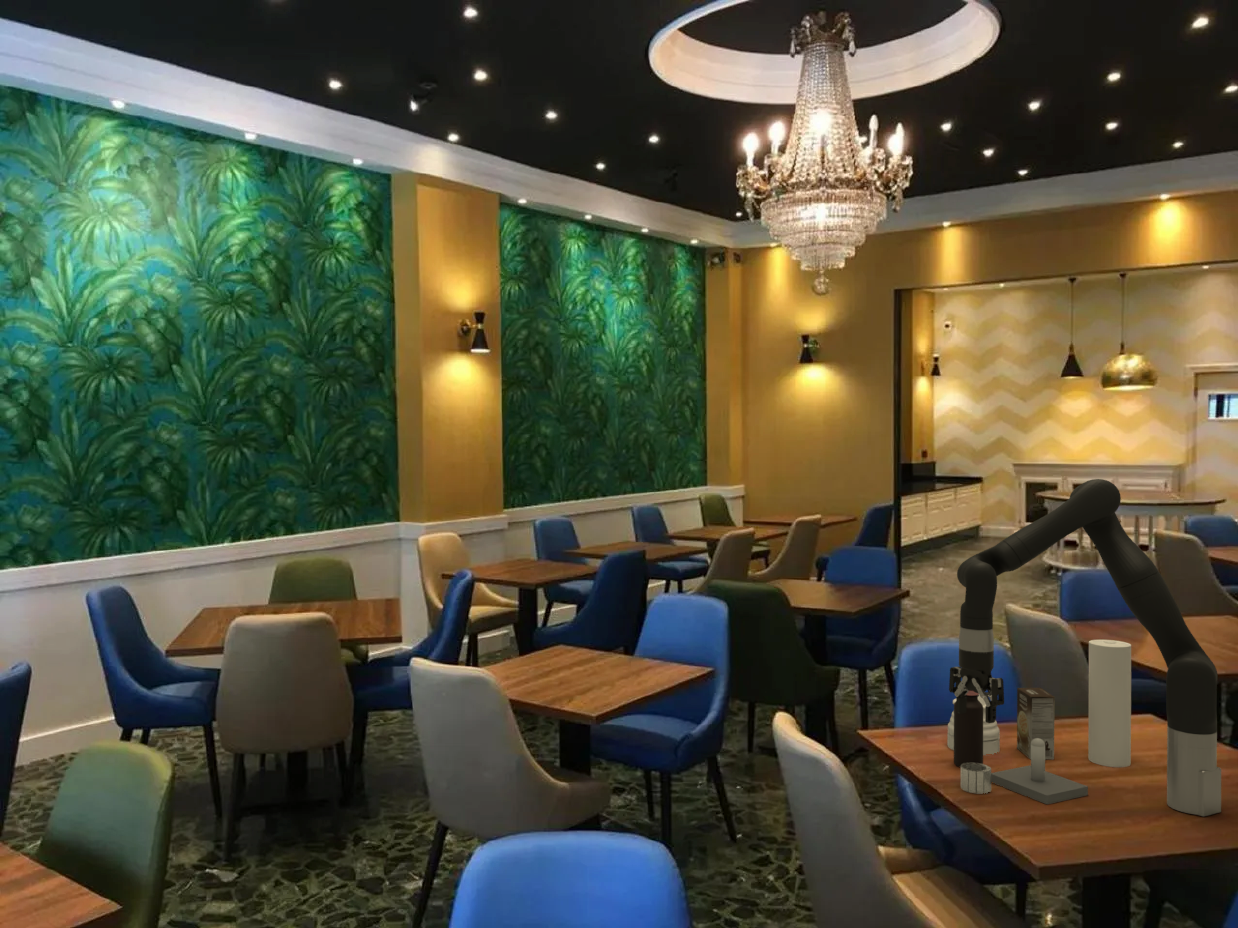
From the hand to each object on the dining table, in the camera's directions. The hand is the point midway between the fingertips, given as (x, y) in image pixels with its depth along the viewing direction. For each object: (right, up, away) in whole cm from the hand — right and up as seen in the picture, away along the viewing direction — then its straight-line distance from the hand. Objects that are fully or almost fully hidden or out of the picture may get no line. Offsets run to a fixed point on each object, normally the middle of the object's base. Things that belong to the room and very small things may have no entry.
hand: (975, 717), depth 219 cm
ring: (0, -16, 0) cm, 16 cm away
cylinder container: (+41, -16, +19) cm, 48 cm away
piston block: (+14, -16, 0) cm, 22 cm away
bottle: (+4, -16, +16) cm, 24 cm away
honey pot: (+11, -16, +31) cm, 36 cm away
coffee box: (+25, -16, +25) cm, 39 cm away
